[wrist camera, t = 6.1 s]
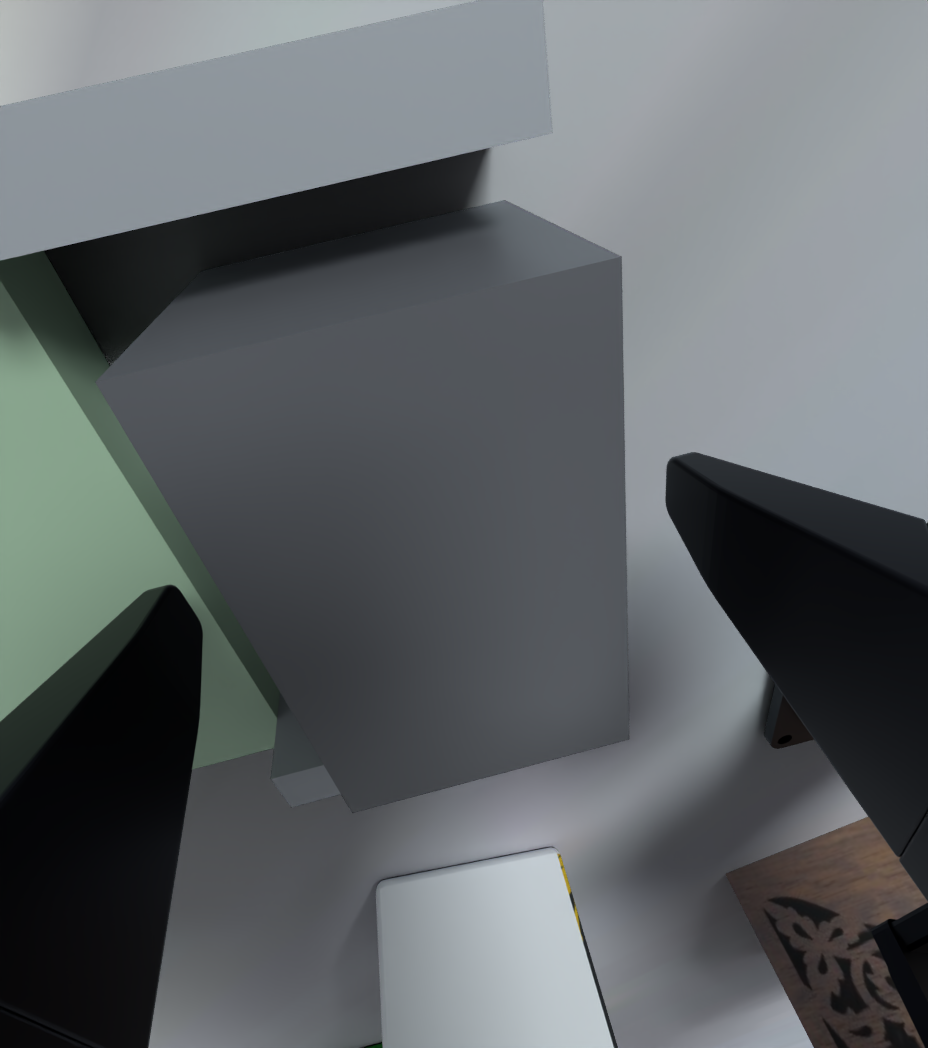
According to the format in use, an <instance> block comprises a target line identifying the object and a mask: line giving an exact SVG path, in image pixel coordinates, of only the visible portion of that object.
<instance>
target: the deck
mask: <svg viewBox="0 0 928 1048" xmlns="http://www.w3.org/2000/svg"><path fill="white" fill-rule="evenodd" d="M551 133H553V131H552V117H551V104H550V90H549V76H548V63H547V49H546V36H545V22H544V8H543V0H478V1H473V2H468V3H464V4H459V5H455V6H450V7H446V8H441V9H437V10H432V11H428V12H423V13H419V14H414V15H410V16H405V17H401V18H396V19H392V20H387V21H383V22H378V23H374V24H369V25H365V26H360V27H356V28H351V29H346V30H342V31H337V32H333V33H328V34H324V35H319V36H315V37H310V38H306V39H301V40H297V41H292V42H288V43H283V44H279V45H274V46H270V47H265V48H261V49H256V50H252V51H247V52H243V53H238V54H234V55H229V56H224V57H220V58H215V59H211V60H206V61H202V62H197V63H193V64H188V65H184V66H179V67H175V68H170V69H166V70H161V71H157V72H152V73H148V74H143V75H139V76H134V77H130V78H125V79H121V80H116V81H112V82H107V83H102V84H98V85H93V86H89V87H84V88H80V89H75V90H71V91H66V92H62V93H57V94H53V95H48V96H44V97H39V98H35V99H30V100H26V101H21V102H17V103H12V104H8V105H3V106H0V721H1V720H3V719H4V718H5V717H6V716H7V715H8V714H9V713H10V712H11V711H13V710H14V709H15V708H16V707H17V706H18V705H19V704H20V703H21V702H22V701H24V700H25V699H26V698H27V697H28V696H29V695H30V694H31V693H32V692H34V691H35V690H36V689H37V688H38V687H39V686H40V685H41V684H42V683H44V682H45V681H46V680H47V679H48V678H49V677H50V676H51V675H52V674H54V673H55V672H56V671H57V670H58V669H59V668H60V667H61V666H62V665H63V664H65V663H66V662H67V661H68V660H69V659H70V658H71V657H72V656H73V655H75V654H76V653H77V652H78V651H79V650H80V649H81V648H82V647H83V646H85V645H86V644H87V643H88V642H89V641H90V640H91V639H92V638H93V637H94V636H96V635H97V634H98V633H99V632H100V631H101V630H102V629H103V628H104V627H106V626H107V625H108V624H109V623H110V622H111V621H112V620H113V619H114V618H116V617H117V616H118V615H119V614H120V613H121V612H122V611H123V610H124V609H125V608H127V607H128V606H129V605H130V604H131V603H132V602H133V601H134V600H135V599H137V598H138V597H139V596H140V595H141V594H142V593H143V592H145V591H147V590H149V589H153V588H157V587H161V586H165V585H170V584H171V585H174V586H176V587H177V588H178V589H179V590H180V591H181V592H182V594H183V595H184V597H185V599H186V600H187V602H188V603H189V605H190V606H191V608H192V609H193V611H194V612H195V614H196V615H197V617H198V618H199V620H200V623H201V625H202V630H203V648H202V677H201V705H200V720H199V727H198V735H197V741H196V748H195V754H194V760H193V767H192V770H193V769H197V768H200V767H204V766H208V765H212V764H216V763H219V762H223V761H227V760H231V759H235V758H238V757H242V756H246V755H250V754H253V753H257V752H261V751H265V750H269V749H272V748H274V753H273V762H272V771H271V780H272V782H273V783H274V785H275V786H276V787H277V789H278V790H279V791H280V793H281V794H282V796H283V797H284V798H285V800H286V801H287V803H288V804H289V805H290V807H291V808H292V807H296V806H299V805H303V804H307V803H311V802H314V801H318V800H322V799H325V798H329V797H333V796H337V795H340V794H341V793H340V792H339V790H338V788H337V787H336V785H335V783H334V782H333V780H332V778H331V777H330V775H329V773H328V772H327V770H326V768H325V766H324V765H323V763H322V761H321V760H320V758H319V756H318V755H317V753H316V751H315V750H314V748H313V746H312V745H311V743H310V741H309V740H308V738H307V736H306V735H305V733H304V731H303V730H302V728H301V726H300V725H299V723H298V721H297V720H296V718H295V716H294V715H293V713H292V711H291V710H290V708H289V706H288V705H287V703H286V701H285V699H284V698H283V696H282V694H281V693H280V691H279V689H278V688H277V686H276V684H275V683H274V681H273V679H272V678H271V676H270V674H269V673H268V671H267V669H266V668H265V666H264V664H263V663H262V661H261V659H260V658H259V656H258V654H257V653H256V651H255V649H254V648H253V646H252V644H251V643H250V641H249V639H248V638H247V636H246V634H245V632H244V631H243V629H242V627H241V626H240V624H239V622H238V621H237V619H236V617H235V616H234V614H233V612H232V611H231V609H230V607H229V606H228V604H227V602H226V601H225V599H224V597H223V596H222V594H221V592H220V591H219V589H218V587H217V586H216V584H215V582H214V581H213V579H212V577H211V576H210V574H209V572H208V571H207V569H206V567H205V565H204V564H203V562H202V560H201V559H200V557H199V555H198V554H197V552H196V550H195V549H194V547H193V545H192V544H191V542H190V540H189V539H188V537H187V535H186V534H185V532H184V530H183V529H182V527H181V525H180V524H179V522H178V520H177V519H176V517H175V515H174V514H173V512H172V510H171V509H170V507H169V505H168V504H167V502H166V500H165V498H164V497H163V495H162V493H161V492H160V490H159V488H158V487H157V485H156V483H155V482H154V480H153V478H152V477H151V475H150V473H149V472H148V470H147V468H146V467H145V465H144V463H143V462H142V460H141V458H140V457H139V455H138V453H137V452H136V450H135V448H134V447H133V445H132V443H131V442H130V440H129V438H128V437H127V435H126V433H125V431H124V430H123V428H122V426H121V425H120V423H119V421H118V420H117V418H116V416H115V415H114V413H113V411H112V410H111V408H110V406H109V405H108V403H107V401H106V400H105V398H104V396H103V395H102V393H101V391H100V390H99V388H98V386H97V385H96V383H95V382H96V380H97V379H98V378H99V377H100V376H101V375H102V374H103V373H104V372H105V371H106V370H107V369H108V368H109V367H110V366H109V364H108V362H107V360H106V359H105V357H104V355H103V353H102V352H101V350H100V348H99V347H98V345H97V343H96V341H95V340H94V338H93V336H92V334H91V333H90V331H89V329H88V327H87V326H86V324H85V322H84V320H83V319H82V317H81V315H80V313H79V312H78V310H77V308H76V306H75V305H74V303H73V301H72V299H71V298H70V296H69V294H68V292H67V291H66V289H65V287H64V285H63V284H62V282H61V280H60V278H59V277H58V275H57V273H56V271H55V270H54V268H53V266H52V264H51V263H50V261H49V259H48V257H47V256H46V254H45V252H44V250H48V249H53V248H57V247H61V246H66V245H70V244H74V243H79V242H83V241H87V240H92V239H96V238H100V237H105V236H109V235H113V234H118V233H122V232H126V231H131V230H135V229H139V228H144V227H148V226H152V225H157V224H161V223H165V222H170V221H174V220H178V219H183V218H187V217H191V216H196V215H200V214H204V213H209V212H213V211H217V210H222V209H226V208H230V207H235V206H239V205H243V204H248V203H252V202H256V201H261V200H265V199H269V198H274V197H278V196H282V195H287V194H291V193H296V192H300V191H304V190H309V189H313V188H317V187H322V186H326V185H330V184H335V183H339V182H343V181H348V180H352V179H356V178H361V177H365V176H369V175H374V174H378V173H382V172H387V171H391V170H395V169H400V168H404V167H408V166H413V165H417V164H421V163H426V162H430V161H434V160H439V159H443V158H447V157H452V156H456V155H460V154H465V153H469V152H473V151H478V150H482V149H486V148H491V147H495V146H499V145H504V144H508V143H512V142H517V141H521V140H525V139H530V138H534V137H538V136H543V135H547V134H551Z"/></svg>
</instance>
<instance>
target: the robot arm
mask: <svg viewBox="0 0 928 1048" xmlns="http://www.w3.org/2000/svg"><path fill="white" fill-rule="evenodd" d="M666 507H667V511H668V514H669V516H670V518H671V519H672V521H673V523H674V525H675V527H676V529H677V531H678V533H679V534H680V536H681V538H682V540H683V542H684V544H685V546H686V548H687V549H688V551H689V553H690V555H691V557H692V559H693V561H694V563H695V565H696V566H697V568H698V570H699V572H700V574H701V576H702V577H703V579H704V581H705V583H706V584H707V586H708V588H709V589H710V591H711V592H712V594H713V595H714V597H715V598H716V600H717V601H718V603H719V604H720V606H721V607H722V608H723V610H724V611H725V613H726V614H727V616H728V617H729V618H730V620H731V621H732V623H733V624H734V626H735V627H736V628H737V630H738V631H739V633H740V634H741V636H742V637H743V638H744V640H745V641H746V643H747V644H748V646H749V647H750V648H751V650H752V651H753V653H754V654H755V656H756V657H757V658H758V660H759V661H760V663H761V664H762V665H763V667H764V668H765V670H766V671H767V673H768V674H769V675H770V677H771V678H772V680H773V681H774V683H775V688H774V692H773V696H772V701H771V705H770V710H769V714H768V718H767V723H766V727H765V732H764V736H765V738H766V739H767V741H768V742H769V744H770V745H771V746H772V747H773V748H777V749H779V748H784V747H788V746H791V745H795V744H799V743H802V742H806V741H810V740H813V739H814V740H815V741H816V743H817V744H818V745H819V747H820V748H821V750H822V751H823V753H824V754H825V755H826V757H827V758H828V760H829V761H830V763H831V764H832V765H833V767H834V768H835V770H836V771H837V772H838V774H839V775H840V777H841V778H842V780H843V781H844V782H845V784H846V785H847V787H848V788H849V790H850V791H851V792H852V794H853V795H854V797H855V798H856V800H857V801H858V802H859V804H860V805H861V807H862V808H863V810H864V811H865V812H866V814H867V815H868V817H869V818H870V820H871V821H872V822H873V824H874V825H875V827H876V828H877V830H878V831H879V832H880V834H881V835H882V837H883V838H884V840H885V841H886V842H887V844H888V845H889V847H890V848H891V850H892V851H893V852H894V854H895V855H896V856H897V857H900V859H899V861H900V863H901V865H902V866H903V867H904V869H905V870H906V872H907V873H908V874H909V876H910V877H911V879H912V880H913V882H914V883H915V884H916V886H917V887H918V889H919V890H920V892H921V893H922V894H923V896H924V897H925V899H926V900H927V902H928V523H927V524H926V522H925V520H924V519H921V518H917V517H914V516H911V515H907V514H904V513H900V512H897V511H894V510H890V509H887V508H883V507H880V506H877V505H873V504H870V503H866V502H863V501H860V500H856V499H853V498H849V497H846V496H843V495H839V494H836V493H832V492H829V491H826V490H822V489H819V488H815V487H812V486H809V485H805V484H802V483H798V482H795V481H792V480H788V479H785V478H781V477H778V476H775V475H771V474H768V473H764V472H761V471H758V470H754V469H751V468H747V467H744V466H741V465H737V464H734V463H730V462H727V461H724V460H720V459H717V458H714V457H710V456H707V455H703V454H700V453H696V452H691V453H687V454H683V455H679V456H676V457H672V458H671V459H670V460H669V461H668V464H667V470H666ZM202 648H203V630H202V625H201V623H200V620H199V618H198V617H197V615H196V614H195V612H194V611H193V609H192V608H191V606H190V605H189V603H188V602H187V600H186V599H185V597H184V595H183V594H182V592H181V591H180V590H179V589H178V588H177V587H176V586H174V585H171V584H170V585H165V586H161V587H157V588H153V589H149V590H147V591H145V592H143V593H142V594H141V595H140V596H139V597H138V598H137V599H135V600H134V601H133V602H132V603H131V604H130V605H129V606H128V607H127V608H125V609H124V610H123V611H122V612H121V613H120V614H119V615H118V616H117V617H116V618H114V619H113V620H112V621H111V622H110V623H109V624H108V625H107V626H106V627H104V628H103V629H102V630H101V631H100V632H99V633H98V634H97V635H96V636H94V637H93V638H92V639H91V640H90V641H89V642H88V643H87V644H86V645H85V646H83V647H82V648H81V649H80V650H79V651H78V652H77V653H76V654H75V655H73V656H72V657H71V658H70V659H69V660H68V661H67V662H66V663H65V664H63V665H62V666H61V667H60V668H59V669H58V670H57V671H56V672H55V673H54V674H52V675H51V676H50V677H49V678H48V679H47V680H46V681H45V682H44V683H42V684H41V685H40V686H39V687H38V688H37V689H36V690H35V691H34V692H32V693H31V694H30V695H29V696H28V697H27V698H26V699H25V700H24V701H22V702H21V703H20V704H19V705H18V706H17V707H16V708H15V709H14V710H13V711H11V712H10V713H9V714H8V715H7V716H6V717H5V718H4V719H3V720H1V721H0V1048H148V1046H149V1039H150V1033H151V1027H152V1020H153V1014H154V1008H155V1001H156V995H157V988H158V982H159V976H160V969H161V963H162V957H163V950H164V944H165V938H166V931H167V925H168V919H169V912H170V906H171V900H172V893H173V887H174V881H175V874H176V868H177V862H178V855H179V849H180V843H181V836H182V830H183V824H184V817H185V811H186V805H187V798H188V792H189V786H190V779H191V773H192V767H193V760H194V754H195V748H196V741H197V735H198V727H199V720H200V705H201V677H202ZM871 933H872V935H873V938H874V940H875V942H876V944H877V946H878V948H879V950H880V952H881V954H882V956H883V958H884V960H885V963H886V965H887V967H888V971H889V974H890V976H891V978H892V980H893V982H894V984H895V987H896V989H897V991H898V993H899V995H900V997H901V999H902V1001H903V1003H904V1005H905V1007H906V1009H907V1011H908V1013H909V1016H910V1018H911V1020H912V1022H913V1024H914V1026H915V1028H916V1030H917V1032H918V1034H919V1036H920V1038H921V1040H922V1043H923V1045H924V1047H925V1048H928V903H926V904H924V905H922V906H920V907H919V908H917V909H915V910H913V911H912V912H910V913H908V914H906V915H904V916H903V917H901V918H899V919H888V920H886V921H884V922H882V923H881V924H879V925H877V926H875V927H874V928H872V929H871Z"/></svg>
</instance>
